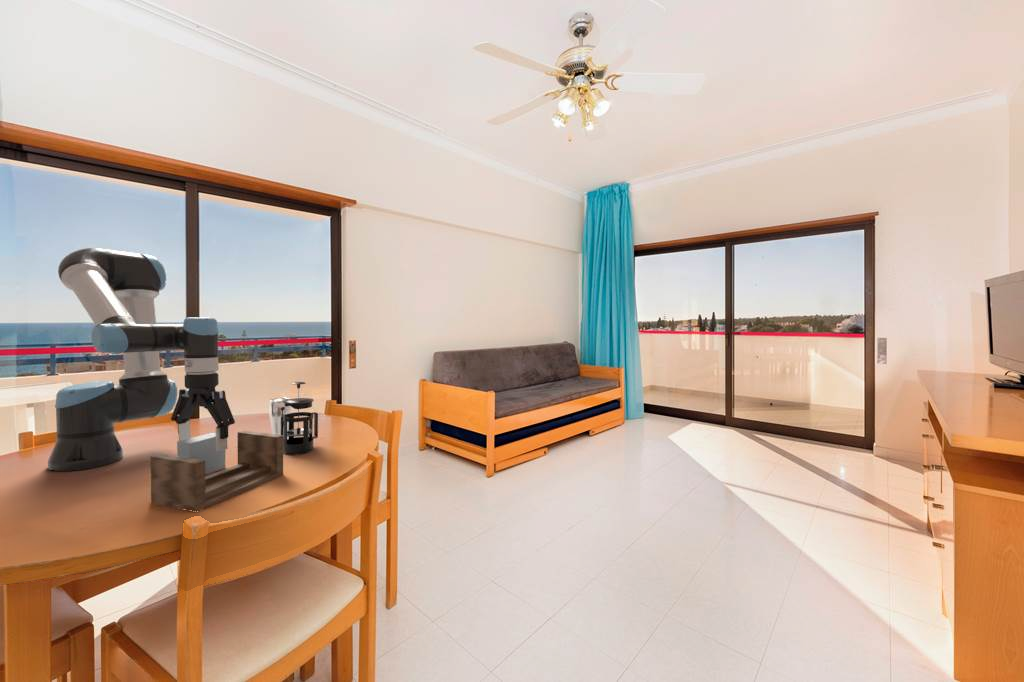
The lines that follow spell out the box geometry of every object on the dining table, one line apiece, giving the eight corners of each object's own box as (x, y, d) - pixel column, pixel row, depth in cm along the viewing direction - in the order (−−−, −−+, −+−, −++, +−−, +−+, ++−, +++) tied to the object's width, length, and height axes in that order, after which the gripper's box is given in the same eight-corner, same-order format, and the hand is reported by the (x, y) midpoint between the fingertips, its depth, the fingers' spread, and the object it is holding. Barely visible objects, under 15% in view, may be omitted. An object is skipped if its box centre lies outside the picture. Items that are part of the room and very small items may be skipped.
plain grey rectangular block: (177, 478, 109) (177, 441, 109) (213, 465, 119) (213, 432, 118) (190, 480, 108) (189, 443, 108) (225, 467, 118) (225, 433, 117)
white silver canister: (264, 442, 142) (264, 400, 141) (279, 437, 148) (279, 397, 148) (282, 444, 140) (282, 401, 140) (295, 438, 147) (296, 398, 147)
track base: (151, 503, 94) (150, 456, 94) (243, 468, 117) (243, 430, 117) (196, 512, 90) (196, 463, 90) (283, 474, 114) (283, 435, 113)
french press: (290, 457, 127) (290, 385, 126) (274, 451, 132) (274, 382, 131) (324, 448, 137) (324, 381, 136) (308, 443, 142) (308, 378, 141)
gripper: (154, 372, 112) (155, 447, 113) (223, 376, 105) (224, 456, 106) (182, 369, 119) (183, 440, 120) (249, 373, 113) (250, 448, 113)
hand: (203, 448), depth 113 cm, fingers open, 13 cm apart
